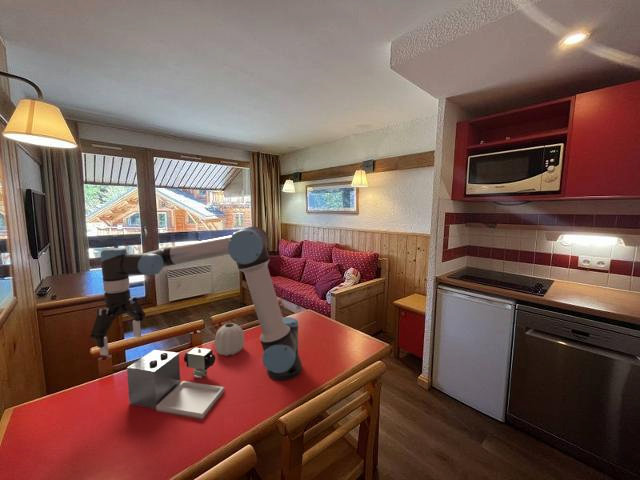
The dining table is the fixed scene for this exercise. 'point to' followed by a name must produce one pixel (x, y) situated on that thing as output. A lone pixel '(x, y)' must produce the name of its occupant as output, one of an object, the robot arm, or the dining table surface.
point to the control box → (153, 378)
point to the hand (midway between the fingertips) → (122, 345)
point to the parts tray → (191, 399)
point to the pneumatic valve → (199, 361)
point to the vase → (229, 339)
